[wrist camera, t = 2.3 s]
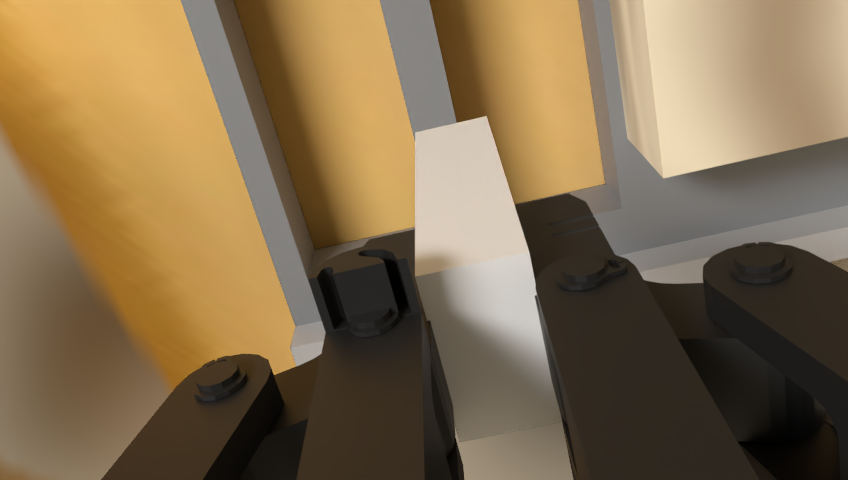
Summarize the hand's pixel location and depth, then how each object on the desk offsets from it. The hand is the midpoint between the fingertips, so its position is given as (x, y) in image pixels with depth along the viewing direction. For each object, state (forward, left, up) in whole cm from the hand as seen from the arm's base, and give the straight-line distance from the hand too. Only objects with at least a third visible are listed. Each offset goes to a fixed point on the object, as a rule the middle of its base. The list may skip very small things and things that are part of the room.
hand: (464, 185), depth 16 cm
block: (+9, 0, -10) cm, 13 cm away
